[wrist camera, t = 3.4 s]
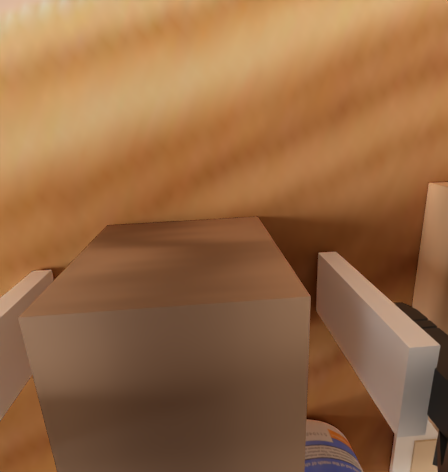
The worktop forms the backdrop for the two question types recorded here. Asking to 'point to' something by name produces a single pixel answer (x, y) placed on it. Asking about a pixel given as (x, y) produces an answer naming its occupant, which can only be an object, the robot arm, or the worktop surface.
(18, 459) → the worktop surface
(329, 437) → the pill bottle
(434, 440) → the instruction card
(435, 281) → the oak base slab
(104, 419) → the walnut block
